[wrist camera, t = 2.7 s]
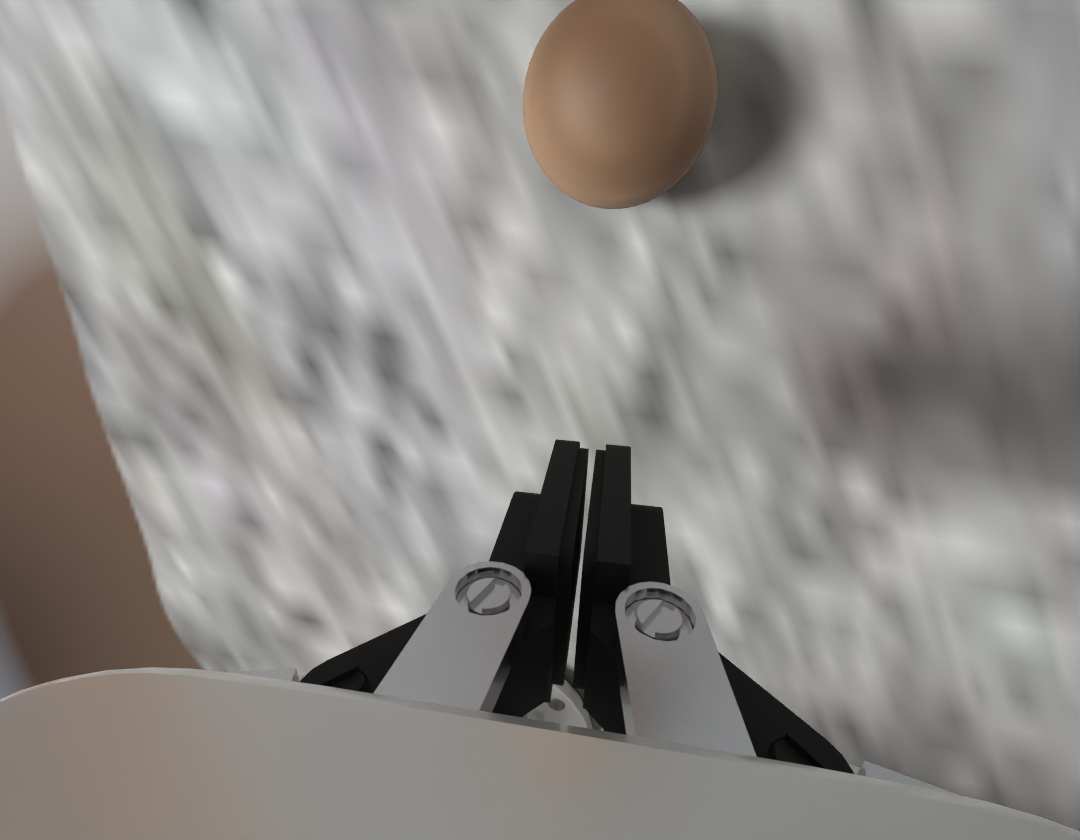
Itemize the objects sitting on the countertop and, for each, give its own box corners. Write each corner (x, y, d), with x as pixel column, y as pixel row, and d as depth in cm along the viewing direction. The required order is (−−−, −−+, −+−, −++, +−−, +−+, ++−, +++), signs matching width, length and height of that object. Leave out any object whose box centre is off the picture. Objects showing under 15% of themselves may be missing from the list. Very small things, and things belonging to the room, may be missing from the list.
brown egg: (599, 239, 19) (591, 255, 14) (505, 106, 18) (460, 70, 13) (735, 133, 17) (781, 107, 12) (641, -25, 16) (649, -125, 11)
